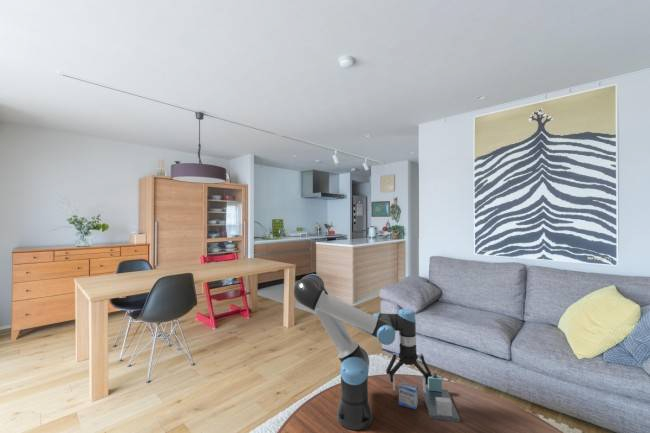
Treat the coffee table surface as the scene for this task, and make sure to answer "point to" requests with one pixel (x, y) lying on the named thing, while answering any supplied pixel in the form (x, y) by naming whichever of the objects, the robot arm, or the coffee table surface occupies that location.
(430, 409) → the base
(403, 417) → the coffee table surface
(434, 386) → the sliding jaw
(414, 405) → the medicine box
